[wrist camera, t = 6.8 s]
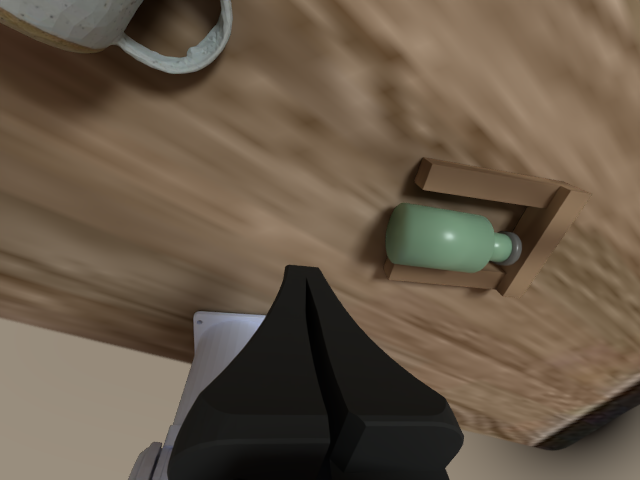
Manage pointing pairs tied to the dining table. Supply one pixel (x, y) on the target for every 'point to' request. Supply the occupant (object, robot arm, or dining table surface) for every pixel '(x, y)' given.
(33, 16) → the ceramic mug
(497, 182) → the cradle
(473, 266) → the bottle
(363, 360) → the robot arm
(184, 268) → the dining table surface
